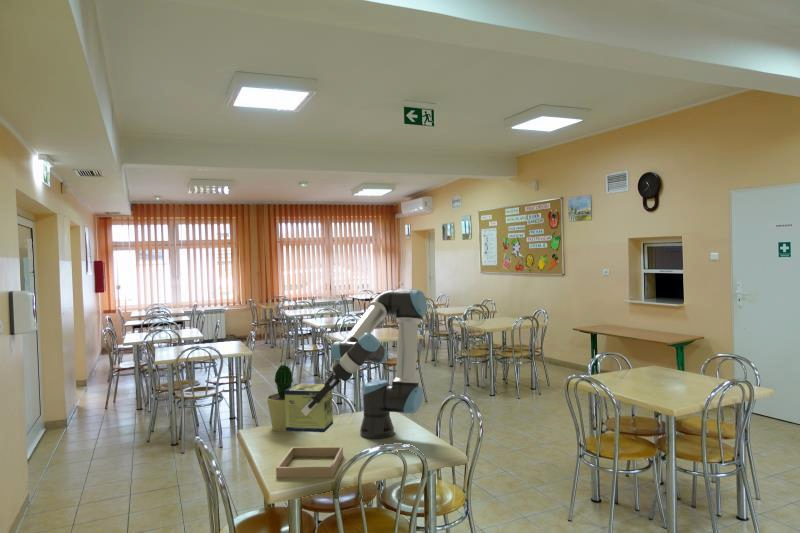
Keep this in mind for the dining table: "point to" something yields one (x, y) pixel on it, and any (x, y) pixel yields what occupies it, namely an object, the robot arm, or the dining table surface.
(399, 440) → the dining table surface
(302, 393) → the protein box
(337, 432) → the dining table surface
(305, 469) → the tray
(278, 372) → the potted cactus
